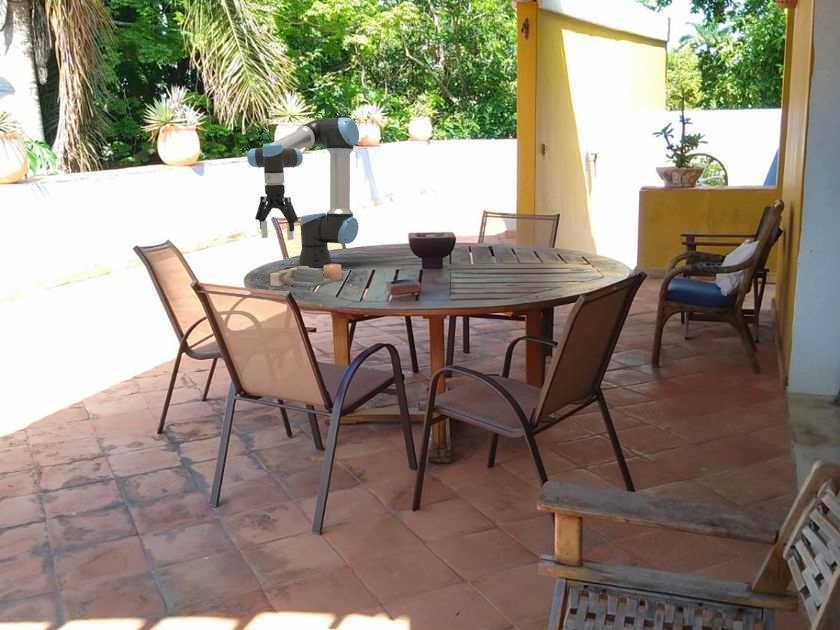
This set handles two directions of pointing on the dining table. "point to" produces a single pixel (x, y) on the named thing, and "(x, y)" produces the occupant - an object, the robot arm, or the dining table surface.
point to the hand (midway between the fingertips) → (277, 238)
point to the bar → (283, 276)
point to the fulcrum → (309, 277)
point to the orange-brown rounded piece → (332, 272)
